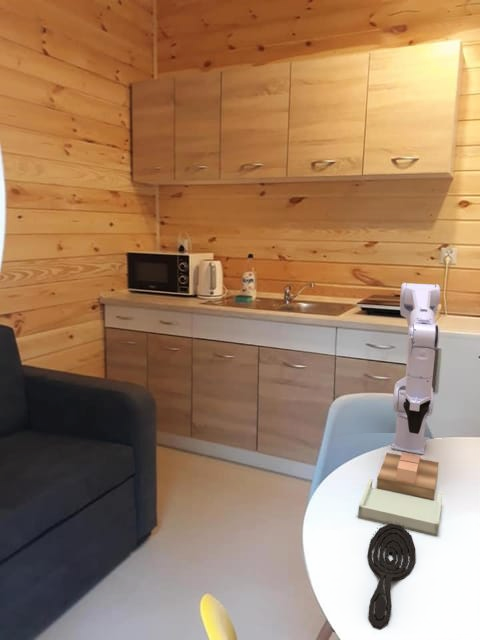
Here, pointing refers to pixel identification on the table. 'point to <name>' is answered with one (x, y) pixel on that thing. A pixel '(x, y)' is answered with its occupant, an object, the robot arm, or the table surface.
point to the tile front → (407, 472)
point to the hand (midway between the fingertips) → (414, 430)
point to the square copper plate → (419, 489)
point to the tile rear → (410, 458)
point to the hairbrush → (388, 568)
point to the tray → (400, 510)
